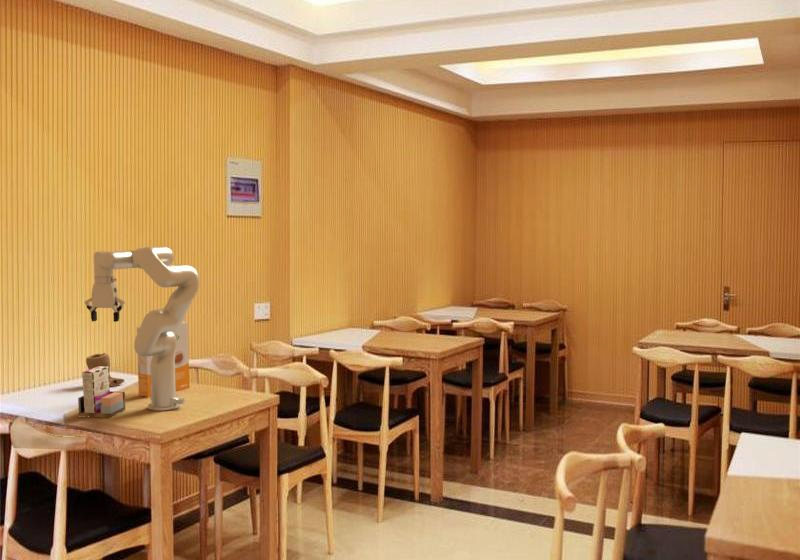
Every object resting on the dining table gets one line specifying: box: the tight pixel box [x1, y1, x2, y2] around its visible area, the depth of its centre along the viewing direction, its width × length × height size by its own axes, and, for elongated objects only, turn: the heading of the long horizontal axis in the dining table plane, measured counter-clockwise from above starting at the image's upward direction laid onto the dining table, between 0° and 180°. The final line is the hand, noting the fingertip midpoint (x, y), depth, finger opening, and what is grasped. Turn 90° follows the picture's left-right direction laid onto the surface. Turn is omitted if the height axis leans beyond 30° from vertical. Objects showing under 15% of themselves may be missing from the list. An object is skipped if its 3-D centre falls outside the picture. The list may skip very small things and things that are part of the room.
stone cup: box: [85, 352, 125, 387], centre depth 353 cm, size 15×12×15 cm
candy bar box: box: [81, 366, 111, 413], centre depth 300 cm, size 11×5×16 cm, turn 170°
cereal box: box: [136, 321, 190, 398], centre depth 339 cm, size 22×6×30 cm, turn 146°
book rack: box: [77, 390, 126, 418], centre depth 301 cm, size 13×12×8 cm
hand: (105, 321), depth 323 cm, fingers open, 9 cm apart
